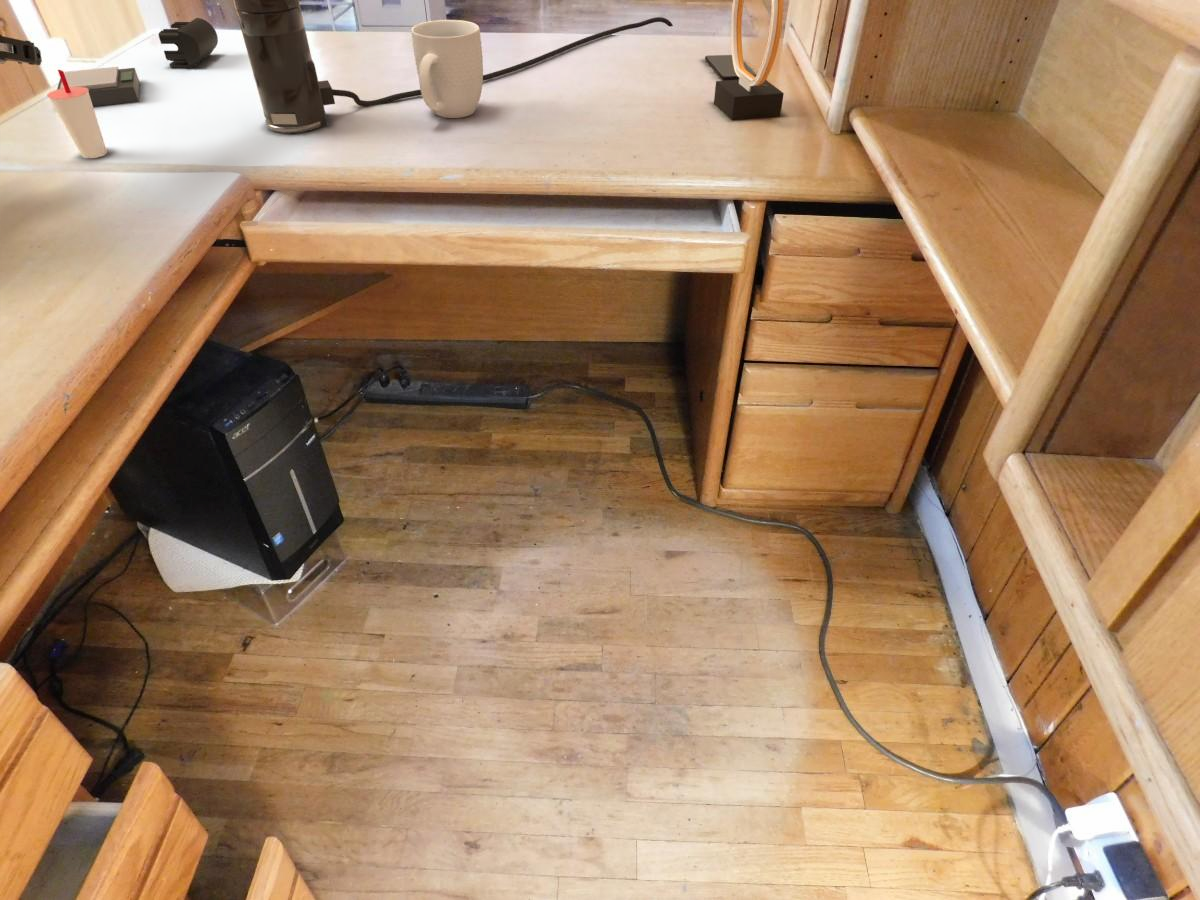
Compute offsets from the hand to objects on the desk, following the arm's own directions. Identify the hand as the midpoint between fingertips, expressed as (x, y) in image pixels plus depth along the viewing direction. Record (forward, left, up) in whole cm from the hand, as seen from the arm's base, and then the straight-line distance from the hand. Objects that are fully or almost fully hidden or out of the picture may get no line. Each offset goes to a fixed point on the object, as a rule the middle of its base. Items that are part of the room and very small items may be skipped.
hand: (3, 52), depth 102 cm
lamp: (-107, +15, -16) cm, 110 cm away
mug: (-59, -2, -16) cm, 62 cm away
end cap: (-20, -51, -16) cm, 58 cm away
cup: (-4, -5, -16) cm, 17 cm away
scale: (-4, -35, -16) cm, 39 cm away
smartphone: (-116, -6, -16) cm, 118 cm away
